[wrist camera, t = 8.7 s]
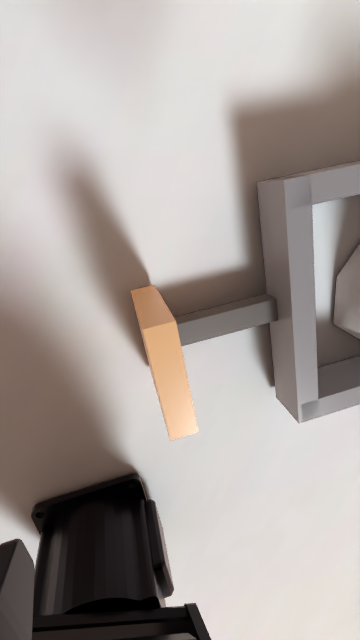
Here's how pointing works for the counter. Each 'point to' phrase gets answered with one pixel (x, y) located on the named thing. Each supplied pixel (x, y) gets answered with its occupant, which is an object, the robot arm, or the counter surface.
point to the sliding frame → (262, 310)
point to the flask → (349, 296)
